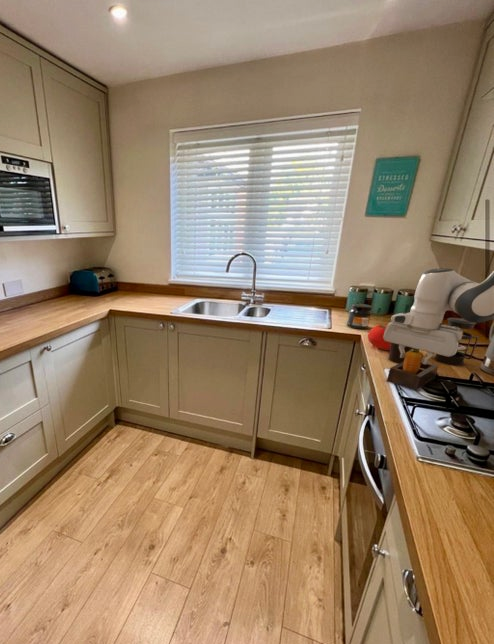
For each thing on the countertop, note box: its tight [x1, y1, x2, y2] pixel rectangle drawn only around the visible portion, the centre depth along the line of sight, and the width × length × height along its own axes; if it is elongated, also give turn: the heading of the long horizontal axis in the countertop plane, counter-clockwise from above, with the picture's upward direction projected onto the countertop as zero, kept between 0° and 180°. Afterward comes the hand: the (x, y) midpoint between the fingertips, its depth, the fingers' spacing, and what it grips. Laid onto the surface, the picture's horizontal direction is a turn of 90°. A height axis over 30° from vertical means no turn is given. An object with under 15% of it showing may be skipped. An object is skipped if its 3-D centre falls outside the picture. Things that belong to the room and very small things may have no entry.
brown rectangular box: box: [386, 361, 439, 392], centre depth 114 cm, size 9×16×5 cm, turn 127°
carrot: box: [403, 348, 424, 374], centre depth 110 cm, size 5×5×15 cm
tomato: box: [367, 324, 391, 351], centre depth 145 cm, size 14×16×10 cm
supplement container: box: [346, 303, 373, 330], centre depth 176 cm, size 10×10×12 cm
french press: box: [433, 317, 479, 366], centre depth 129 cm, size 12×9×23 cm
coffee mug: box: [388, 342, 413, 364], centre depth 131 cm, size 12×9×10 cm
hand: (412, 360), depth 110 cm, fingers closed on carrot, 5 cm apart
